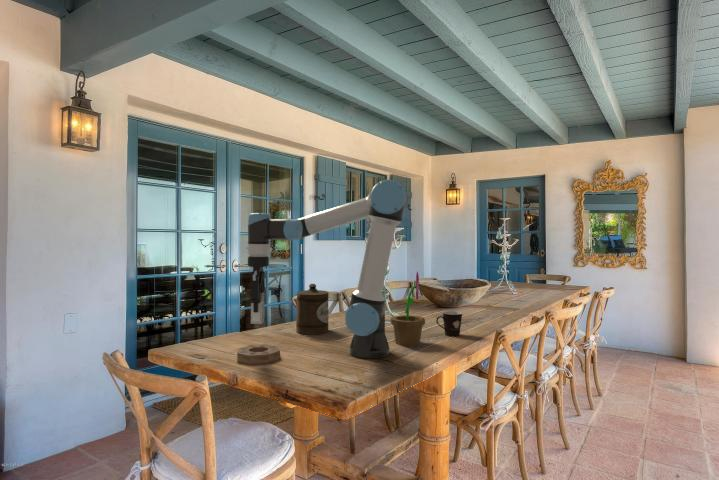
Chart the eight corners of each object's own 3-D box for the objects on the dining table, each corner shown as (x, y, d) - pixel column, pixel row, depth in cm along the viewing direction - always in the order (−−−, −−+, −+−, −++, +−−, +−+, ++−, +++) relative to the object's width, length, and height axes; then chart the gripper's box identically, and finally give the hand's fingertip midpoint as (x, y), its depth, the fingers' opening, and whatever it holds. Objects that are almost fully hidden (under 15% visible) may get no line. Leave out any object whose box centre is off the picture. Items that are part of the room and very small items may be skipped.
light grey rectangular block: (264, 321, 167) (264, 291, 167) (261, 323, 163) (262, 293, 163) (253, 321, 167) (253, 291, 167) (250, 323, 163) (251, 293, 163)
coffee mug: (460, 333, 207) (461, 311, 207) (463, 337, 198) (463, 314, 198) (435, 332, 208) (435, 310, 208) (436, 336, 199) (436, 314, 199)
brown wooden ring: (287, 355, 168) (287, 347, 168) (259, 366, 155) (259, 357, 155) (257, 350, 176) (257, 342, 176) (228, 359, 163) (228, 351, 163)
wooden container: (326, 334, 202) (327, 285, 202) (293, 334, 203) (293, 285, 202) (329, 327, 217) (329, 282, 217) (298, 327, 217) (299, 281, 217)
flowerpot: (423, 348, 180) (424, 272, 179) (388, 346, 183) (388, 272, 182) (425, 339, 194) (426, 269, 193) (392, 338, 197) (392, 269, 196)
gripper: (253, 254, 173) (252, 315, 174) (242, 256, 156) (241, 324, 157) (273, 254, 173) (272, 315, 174) (263, 257, 156) (263, 324, 157)
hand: (257, 319), depth 165 cm, fingers closed on light grey rectangular block, 4 cm apart
